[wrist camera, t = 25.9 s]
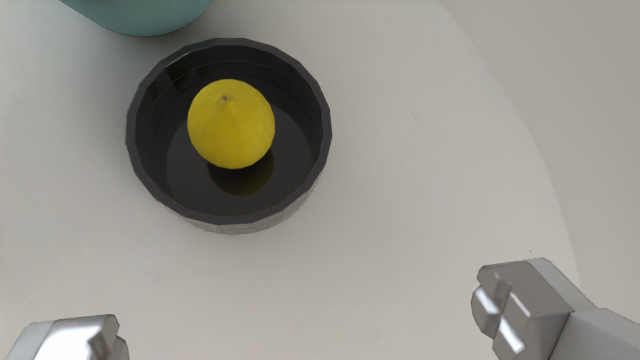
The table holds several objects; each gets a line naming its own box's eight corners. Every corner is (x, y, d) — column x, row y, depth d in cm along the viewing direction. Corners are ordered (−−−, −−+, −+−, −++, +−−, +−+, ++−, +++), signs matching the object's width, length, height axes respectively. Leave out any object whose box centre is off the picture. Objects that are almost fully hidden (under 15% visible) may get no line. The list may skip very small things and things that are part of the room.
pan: (286, 53, 33) (288, 17, 28) (349, 196, 30) (362, 180, 26) (125, 100, 30) (100, 68, 25) (178, 263, 27) (161, 258, 23)
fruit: (288, 137, 30) (294, 85, 22) (246, 196, 28) (237, 161, 21) (228, 100, 30) (213, 35, 22) (183, 156, 28) (151, 107, 21)
